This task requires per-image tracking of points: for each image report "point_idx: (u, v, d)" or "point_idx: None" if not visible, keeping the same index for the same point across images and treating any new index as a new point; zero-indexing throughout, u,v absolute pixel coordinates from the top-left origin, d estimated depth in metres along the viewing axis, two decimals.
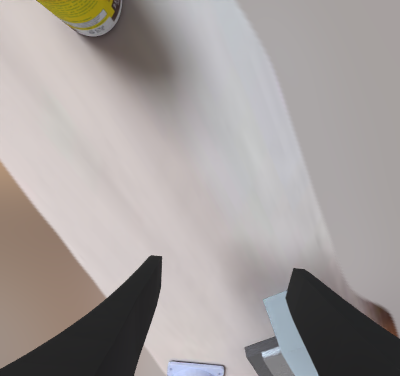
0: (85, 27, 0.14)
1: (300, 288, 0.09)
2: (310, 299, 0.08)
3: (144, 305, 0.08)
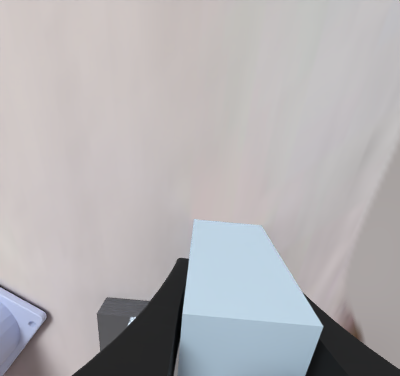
0: None
1: None
2: None
3: (181, 308, 0.08)
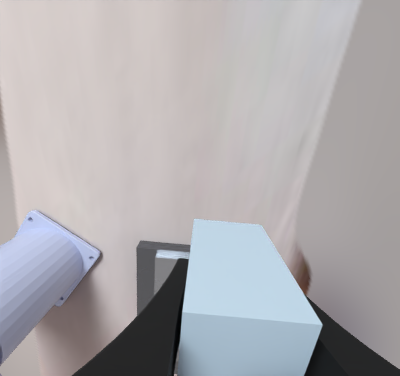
0: None
1: None
2: None
3: (181, 308, 0.08)
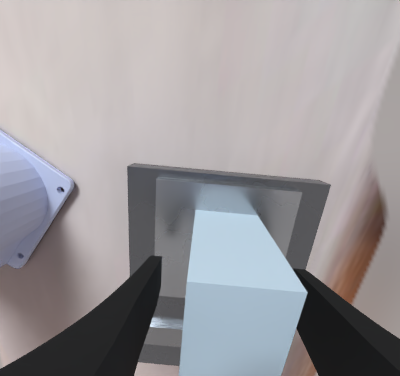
0: None
1: None
2: (310, 299, 0.08)
3: (144, 305, 0.08)
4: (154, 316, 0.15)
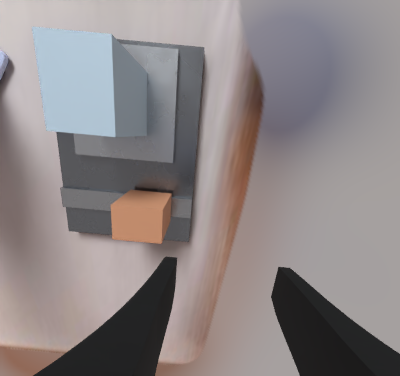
0: None
1: (284, 287, 0.09)
2: (292, 297, 0.08)
3: (164, 307, 0.08)
4: (82, 182, 0.18)
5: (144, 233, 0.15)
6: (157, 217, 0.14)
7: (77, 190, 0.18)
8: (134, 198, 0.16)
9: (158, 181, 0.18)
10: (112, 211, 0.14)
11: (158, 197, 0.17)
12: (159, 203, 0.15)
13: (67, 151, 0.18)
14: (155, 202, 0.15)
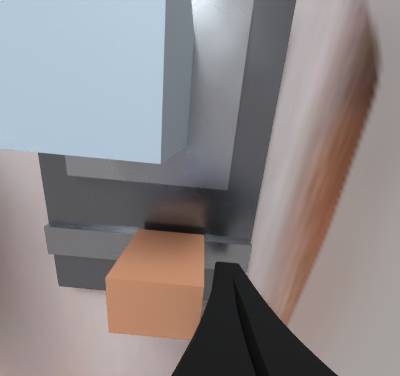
0: None
1: None
2: None
3: None
4: (78, 217, 0.12)
5: (167, 325, 0.08)
6: (193, 299, 0.08)
7: (71, 230, 0.12)
8: (148, 252, 0.09)
9: (199, 216, 0.12)
10: (108, 288, 0.08)
11: (186, 247, 0.10)
12: (192, 265, 0.09)
13: (54, 170, 0.11)
14: (185, 263, 0.09)
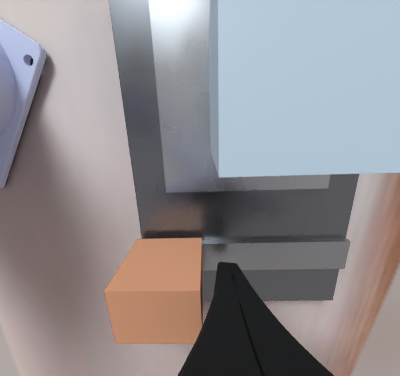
0: None
1: None
2: None
3: None
4: (171, 232, 0.12)
5: (170, 331, 0.08)
6: (192, 303, 0.08)
7: None
8: (145, 261, 0.09)
9: (292, 218, 0.11)
10: (108, 301, 0.08)
11: (183, 252, 0.10)
12: (189, 270, 0.09)
13: (148, 188, 0.11)
14: (182, 268, 0.09)
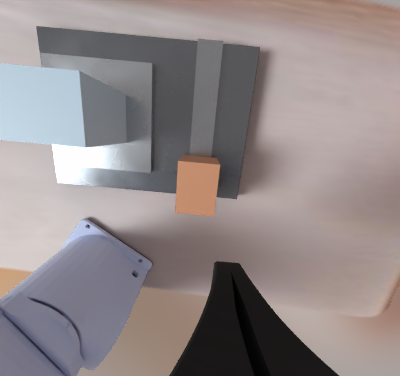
0: None
1: None
2: (232, 292, 0.08)
3: None
4: None
5: (207, 182, 0.14)
6: (187, 166, 0.13)
7: None
8: None
9: (177, 87, 0.16)
10: (182, 212, 0.14)
11: None
12: None
13: (151, 183, 0.18)
14: None
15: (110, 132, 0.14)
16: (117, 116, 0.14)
